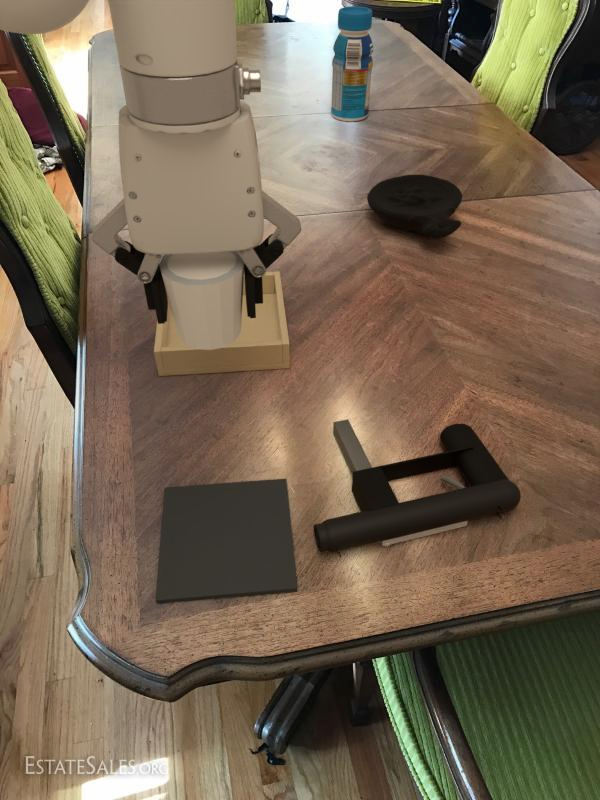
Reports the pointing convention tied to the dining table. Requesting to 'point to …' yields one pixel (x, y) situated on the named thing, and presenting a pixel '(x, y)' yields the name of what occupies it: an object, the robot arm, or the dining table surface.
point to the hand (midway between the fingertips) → (207, 310)
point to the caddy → (252, 350)
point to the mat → (225, 541)
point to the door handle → (421, 515)
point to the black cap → (417, 204)
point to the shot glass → (205, 296)
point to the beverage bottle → (352, 64)
